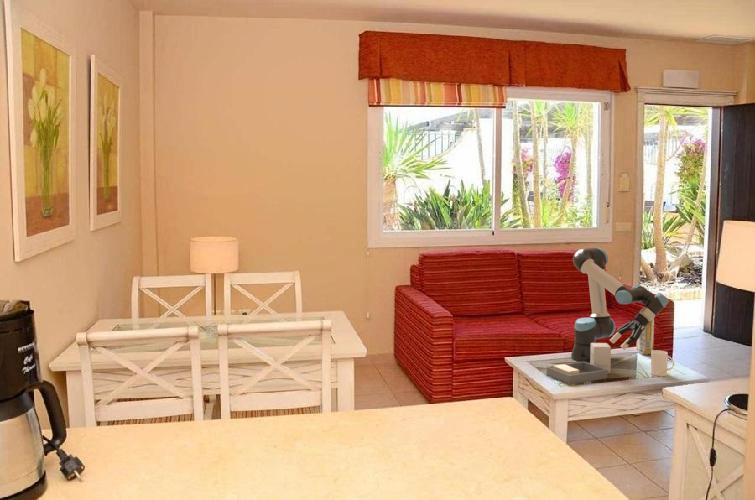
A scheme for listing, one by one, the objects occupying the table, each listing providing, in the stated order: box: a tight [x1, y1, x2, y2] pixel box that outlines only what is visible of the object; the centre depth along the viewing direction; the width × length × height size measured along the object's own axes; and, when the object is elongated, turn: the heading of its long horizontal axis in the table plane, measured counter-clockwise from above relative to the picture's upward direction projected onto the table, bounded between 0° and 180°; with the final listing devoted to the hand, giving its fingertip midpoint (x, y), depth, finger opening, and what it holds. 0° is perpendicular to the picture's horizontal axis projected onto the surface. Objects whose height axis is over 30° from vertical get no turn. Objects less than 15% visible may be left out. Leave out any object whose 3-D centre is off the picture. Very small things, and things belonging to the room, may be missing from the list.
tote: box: [546, 361, 608, 385], centre depth 334 cm, size 18×25×5 cm
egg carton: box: [552, 363, 579, 375], centre depth 331 cm, size 12×7×6 cm, turn 23°
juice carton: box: [635, 318, 655, 356], centre depth 380 cm, size 9×8×24 cm
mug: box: [649, 349, 675, 377], centre depth 338 cm, size 12×8×12 cm
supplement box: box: [589, 342, 612, 374], centre depth 344 cm, size 9×9×15 cm
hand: (616, 345), depth 343 cm, fingers open, 13 cm apart
